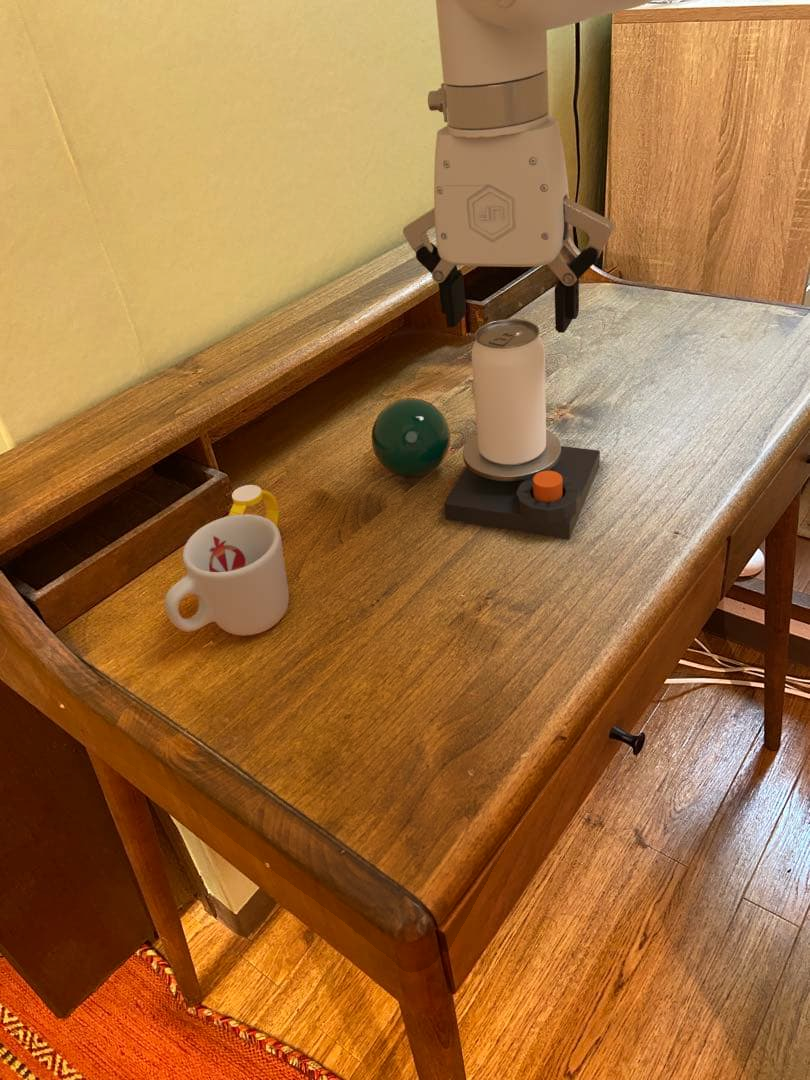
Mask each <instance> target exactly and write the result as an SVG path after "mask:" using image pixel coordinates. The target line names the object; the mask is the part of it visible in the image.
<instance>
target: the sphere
mask: <svg viewBox="0 0 810 1080" xmlns="http://www.w3.org/2000/svg"><path fill="white" fill-rule="evenodd" d="M371 444H372V445H371V446H372V450H373V453H374V456H375V458H376V459H377V460H378V462H379V463H380V465H381V466H382V467H383V468H384V469H385V470H386V471H388V472H390V473H391V474H392V475H393V474H394V475H395V476H397V477H401V478H405V479H414V478H421V477H424V476H427V475H429V474H431V473H432V472H434V471H435V470H436V469H438V468H439V467H440V465H442V463H443V462H444V461H445V459H446V457H447V456H448V452H449V449H450V446H451V432H450V427H449V423H448V421H447V419H446V417H445V415H444V414H443V413H442V411H440V409H438V408H437V407H436V406H435V405H434V404H433V403H431V402H428V401H426V400H424V399H420V398H416V397H415V398H414V397H411V398H410V397H408V398H407V397H406V398H401V399H397V400H396V401H394V402H391V403H390V404H388V405H386V406H385V408H383V410H381V411H380V413H378V415H377V417H376V419H375V421H374V424H373V426H372V429H371Z"/></svg>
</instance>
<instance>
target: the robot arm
mask: <svg viewBox="0 0 810 1080" xmlns="http://www.w3.org/2000/svg"><path fill="white" fill-rule="evenodd" d="M653 1H654V0H435V5H436V6H435V7H436V17H437V29H438V39H439V48H440V59H441V61H440V62H441V69H442V70H441V71H442V72H441V73H442V82H441V84H440V88H438V89H437V90H430V91H429V92H428V94H427V105H428V106H427V107H428V109H429V110H430V111H433V112H434V111H435V112H436V111H438V112H439V113H442V114H443V122H444V123H446V126H444V127H442V128H441V129H439V130H437V132H436V139H435V140H436V141H435V151H434V171H433V173H434V174H433V175H434V176H433V177H434V178H433V183H434V184H433V204H434V207H432V208H431V209H429V210H428V211H426V212H424V213H422V214H421V215H419V216H418V217H416V218H414V219H413V220H411V221H410V222H409V223H408V224H406V225H405V226H404V227H403V230H402V234H403V236H404V238H405V239H406V241H407V243H408V244H409V246H410V247H411V249H412V251H414V252H415V258H416V260H417V261H418V262H419V263H420V264H421V265H422V266H423V267H424V268H425V269H426V270H427V271H428V272H429V273H430V274H431V278H432V280H433V281H434V282H435V283H436V284H438V293H439V300H440V301H439V302H440V310H441V313H442V314H443V315H445V320H446V327H447V328H452V329H453V328H455V327H457V326H458V324H459V323H460V322H461V321H463V318H465V316H466V315H467V304H466V303H467V302H466V292H465V280H464V274H463V273H462V270H461V269H459V270H458V266H459V267H460V266H461V267H499V268H501V267H502V268H503V267H507V268H517V267H518V268H533V267H543V266H546V265H547V267H548V268H549V269H550V270H551V272H552V273H553V274H554V275H555V276H556V277H557V278H558V282H557V283H556V285H555V286H554V325H555V332H557V333H559V334H565V333H566V331H567V330H568V328H569V326H570V324H571V323H572V321H573V320H576V319H577V318H578V316H579V312H580V278H581V277H582V276H583V275H584V274H585V273H586V272H587V271H589V269H590V268H591V267H592V266H593V265H594V264H595V263H596V262H597V260H598V259H599V257H600V256H601V254H602V252H603V250H604V248H605V246H606V244H607V243H608V241H609V239H610V237H611V235H612V233H613V231H614V229H615V224H614V221H612V220H610V219H608V218H606V217H604V216H603V215H601V214H599V213H597V212H596V211H593V210H591V209H589V208H588V207H586V206H584V205H582V204H580V203H578V202H576V201H574V200H572V199H570V193H569V192H570V191H569V183H568V173H567V166H566V165H567V164H566V157H565V152H564V151H565V150H564V145H563V139H562V134H561V130H560V124H559V121H558V117H557V116H556V115H550V110H549V109H550V107H549V74H548V71H549V70H548V35H547V34H548V31H550V30H554V29H555V30H556V29H558V28H562V27H565V26H570V25H573V24H578V23H581V22H584V21H586V20H588V19H593V18H596V17H601V16H604V15H609V14H612V13H613V14H614V13H618V12H621V11H626V10H630V9H631V10H632V9H634V8H638V7H641V6H645V5H646V4H648V3H652V2H653ZM571 226H572V227H574V228H576V229H578V230H580V231H582V232H584V233H585V234H587V235H588V238H589V240H588V242H587V245H586V246H585V248H584V249H583V250H582V251H581V252H580V253H579V254H577V253H576V252H575V251H574V250H573V248H571V246H570V245H569V243H568V242H569V239H570V235H571ZM434 227H435V228H434ZM433 228H434V230H435V232H434V233H435V241H436V245H434V243H432V242H431V240H430V237H429V236H428V231H429V230H431V229H433Z"/></svg>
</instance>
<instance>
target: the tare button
mask: <svg viewBox="0 0 810 1080" xmlns="http://www.w3.org/2000/svg"><path fill="white" fill-rule="evenodd" d="M562 495H563V478H562V476H561V475H560V474H559V473H557V472H555V471H542V472H539V473H537V474H536V475H535V476H534V477H533V496H534V498H535V499H536V500H538V501H544V502H552V501H557V500H559V499H560V498H561V497H562Z"/></svg>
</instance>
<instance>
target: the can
mask: <svg viewBox="0 0 810 1080" xmlns="http://www.w3.org/2000/svg"><path fill="white" fill-rule="evenodd" d="M474 339H475V341H474V343H473V345H472V349H471V367H472V383H473V395H474V397H473V398H474V408H475V409H474V410H475V421H476V433H477V436H478V447H479V451H480V453H481V454H482V455H483V456H484V457H485V458H486V459H487V460H489V461H490V462H492V463H495V464H499V465H506V466H514V465H521V464H525V463H528V462H531V461H533V460H534V459H536V458H537V457H538V456H539V455H540V454H541V453H542V452H543V451H544V449H545V447H546V430H547V401H546V400H547V397H546V395H547V394H546V393H547V391H546V389H547V388H546V349H545V344H544V341H543V340H542V337H541V336H540V328H539V326H538V325H537V324H536V323H534V322H532V321H530V320H527V319H526V320H525V319H521V318H519V319H518V318H505V319H498V320H494V321H491V322H488V323H485V324H483V325H482V326H480V327H479V328H478V329H477V330H476V331H475V333H474Z"/></svg>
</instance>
